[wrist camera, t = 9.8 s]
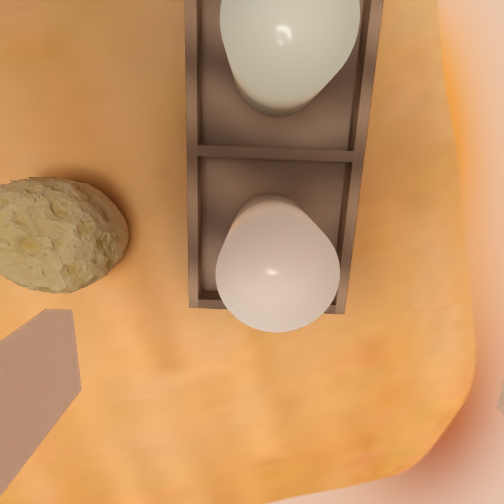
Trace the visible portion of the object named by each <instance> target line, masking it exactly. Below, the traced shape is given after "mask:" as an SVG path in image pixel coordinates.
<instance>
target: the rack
mask: <svg viewBox="0 0 504 504" xmlns="http://www.w3.org/2000/svg"><path fill="white" fill-rule="evenodd" d="M221 1H222V0H185V58H186V131H187V205H188V278H189V308H210V309H227V308H226V306H225V305H224V303H223V301H222V299H221V297H220V295H219V292H218V289H217V284H216V275H215V273H216V264H217V260H218V257H219V254H220V251H221V249H222V246H223V244H224V242H225V239H226V237H227V235H228V232H229V230H230V227H231V225H232V223H233V220H234V218H235V216H236V214H237V212H238V210H239V209H240V207H241V206H242V205H243V204H244V203H245V202H246V201H247V200H248V199H250V198H252V197H254V196H256V195H259V194H262V193H278V194H282V195H284V196H287V197H289V198H290V199H292V200H293V201H294V202H295V203H296V204H297V205H298V206H299V207H300V208H301V209H302V210H303V211H304V212H305V213H306V214H307V215H308V216H309V218H310V219H311V220H312V221H313V222H314V223H315V224H316V225H317V226H318V227H319V228H320V230H321V231H322V232H323V233H324V234H325V235H326V236H327V238H328V239H329V240H330V241H331V243H332V245H333V247H334V248H335V251H336V253H337V256H338V260H339V265H340V280H339V286H338V289H337V292H336V295H335V297H334V299H333V301H332V303H331V304H330V306H329V307H328V308H327V309H326V311H325V312H324V313H326V314H344V313H345V305H346V297H347V289H348V281H349V273H350V265H351V257H352V249H353V241H354V233H355V225H356V217H357V209H358V201H359V193H360V185H361V177H362V169H363V161H364V153H365V145H366V137H367V129H368V121H369V113H370V105H371V97H372V89H373V81H374V73H375V65H376V57H377V49H378V41H379V33H380V25H381V17H382V9H383V1H384V0H359V3H360V23H359V29H358V34H357V38H356V41H355V44H354V46H353V49H352V51H351V53H350V55H349V57H348V59H347V61H346V62H345V64H344V65H343V66H342V68H341V69H340V70H339V71H338V72H337V74H336V75H335V76H334V77H333V78H332V79H331V80H330V81H329V82H328V83H327V85H326V86H325V87H324V88H323V89H322V90H321V91H320V92H319V93H318V94H317V95H316V97H315V98H314V99H313V100H312V101H311V102H310V103H309V104H308V105H307V106H306V107H305V108H303V109H302V110H300V111H299V112H297V113H295V114H292V115H289V116H285V117H270V116H266V115H263V114H261V113H259V112H257V111H255V110H254V109H252V108H251V107H250V106H249V105H248V104H247V103H246V102H245V101H244V100H243V98H242V97H241V95H240V94H239V92H238V90H237V87H236V84H235V81H234V78H233V74H232V71H231V67H230V64H229V61H228V57H227V54H226V51H225V47H224V44H223V40H222V36H221V29H220V7H221Z"/></svg>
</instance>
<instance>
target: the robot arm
mask: <svg viewBox="0 0 504 504" xmlns="http://www.w3.org/2000/svg"><path fill="white" fill-rule="evenodd" d="M81 389H82V388H81V380H80V371H79V363H78V355H77V346H76V338H75V330H74V321H73V313H72V310H66V309H45V310H44V311H42V312H41V313H39V314H38V315H37V316H35V317H34V318H32V319H31V320H30V321H28V322H27V323H25V324H24V325H23V326H21V327H20V328H18V329H17V330H16V331H14V332H13V333H11V334H10V335H8V336H7V337H6V338H4V339H3V340H1V341H0V496H1V495H2V493H3V492H4V491H5V489H6V488H7V487H8V485H9V484H10V483H11V482H12V480H13V479H14V478H15V476H16V475H17V474H18V472H19V471H20V470H21V468H22V467H23V466H24V464H25V463H26V462H27V460H28V459H29V458H30V457H31V455H32V454H33V453H34V451H35V450H36V449H37V447H38V446H39V445H40V443H41V442H42V441H43V439H44V438H45V437H46V435H47V434H48V433H49V432H50V430H51V429H52V428H53V426H54V425H55V424H56V422H57V421H58V420H59V418H60V417H61V416H62V414H63V413H64V412H65V410H66V409H67V408H68V407H69V405H70V404H71V403H72V401H73V400H74V399H75V397H76V396H77V395H78V393H79V392H80V391H81ZM497 408H498V409H499V410H500V411H501V412H502V413H503V414H504V383H503V387H502V390H501V393H500V397H499V400H498V404H497Z"/></svg>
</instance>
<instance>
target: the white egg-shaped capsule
mask: <svg viewBox="0 0 504 504" xmlns="http://www.w3.org/2000/svg"><path fill="white" fill-rule="evenodd" d="M359 23H360V3H359V0H222V1H221V7H220V29H221V36H222V40H223V44H224V47H225V51H226V54H227V57H228V61H229V64H230V67H231V71H232V74H233V78H234V81H235V84H236V87H237V90H238V92H239V94H240V95H241V97H242V98H243V100H244V101H245V102H246V103H247V104H248V105H249V106H250V107H251V108H252V109H254V110H255V111H257V112H259V113H261V114H263V115H266V116H270V117H285V116H289V115H292V114H295V113H297V112H299V111H300V110H302V109H303V108H305V107H306V106H307V105H308V104H309V103H310V102H311V101H312V100H313V99H314V98H315V97H316V95H317V94H318V93H319V92H320V91H321V90H322V89H323V88H324V87H325V86H326V85H327V83H328V82H329V81H330V80H331V79H332V78H333V77H334V76H335V75H336V74H337V72H338V71H339V70H340V69H341V68H342V66H343V65H344V64H345V62H346V61H347V59H348V57H349V55H350V53H351V51H352V49H353V46H354V44H355V41H356V38H357V34H358V29H359Z"/></svg>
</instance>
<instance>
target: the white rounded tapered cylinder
mask: <svg viewBox="0 0 504 504" xmlns="http://www.w3.org/2000/svg"><path fill="white" fill-rule="evenodd" d="M215 275H216V284H217V289H218V292H219V295H220V297H221V299H222V301H223V303H224V305H225V306H226V308H227V309H228V310H229V311H230V312H231V313H232V315H233V316H235V317H236V318H237V319H238V320H240V321H241V322H243V323H244V324H246V325H248V326H250V327H252V328H255V329H258V330H261V331H266V332H288V331H292V330H296V329H299V328H302V327H304V326H306V325H308V324H310V323H312V322H313V321H315V320H316V319H317V318H319V317H320V316H321V315H322V314H323V313H324V312H325V311H326V309H327V308H328V307H329V306H330V304H331V303H332V301H333V299H334V297H335V295H336V292H337V289H338V286H339V280H340V265H339V260H338V256H337V253H336V251H335V248H334V247H333V245H332V243H331V241H330V240H329V239H328V238H327V236H326V235H325V234H324V233H323V232H322V231H321V230H320V228H319V227H318V226H317V225H316V224H315V223H314V222H313V221H312V220H311V219H310V218H309V216H308V215H307V214H306V213H305V212H304V211H303V210H302V209H301V208H300V207H299V206H298V205H297V204H296V203H295V202H294V201H293V200H292V199H290V198H289V197H287V196H284V195H282V194H278V193H262V194H259V195H256V196H254V197H252V198H250V199H248V200H247V201H246V202H245V203H244V204H243V205H242V206H241V207H240V209H239V210H238V212H237V214H236V216H235V218H234V220H233V223H232V225H231V227H230V230H229V232H228V235H227V237H226V239H225V242H224V244H223V246H222V249H221V251H220V254H219V257H218V260H217V264H216V273H215Z"/></svg>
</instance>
